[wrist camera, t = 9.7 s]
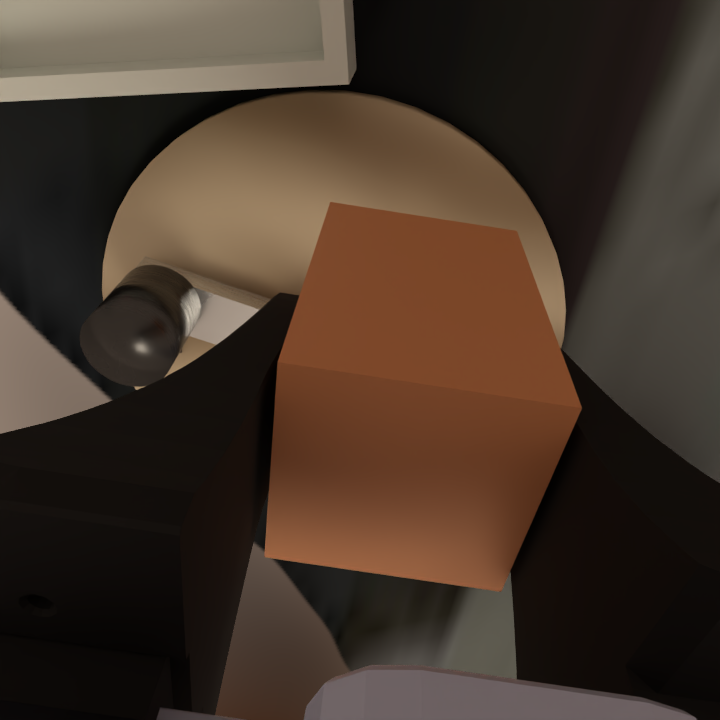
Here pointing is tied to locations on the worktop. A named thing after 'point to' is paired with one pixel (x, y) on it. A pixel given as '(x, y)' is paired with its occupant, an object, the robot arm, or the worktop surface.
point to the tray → (171, 46)
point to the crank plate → (311, 192)
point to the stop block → (415, 402)
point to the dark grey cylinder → (160, 320)
